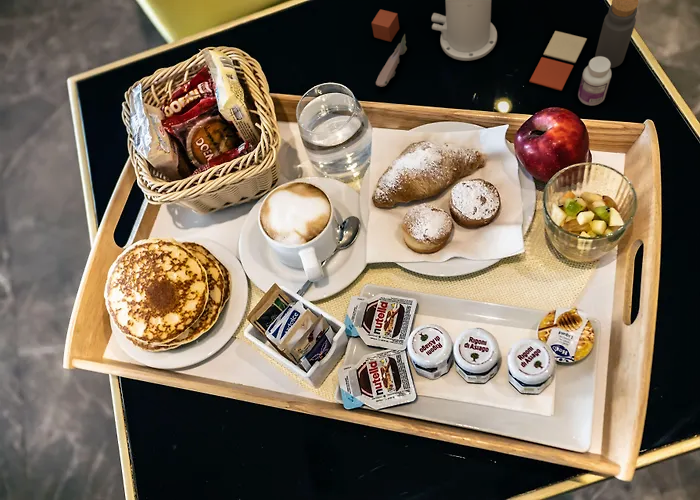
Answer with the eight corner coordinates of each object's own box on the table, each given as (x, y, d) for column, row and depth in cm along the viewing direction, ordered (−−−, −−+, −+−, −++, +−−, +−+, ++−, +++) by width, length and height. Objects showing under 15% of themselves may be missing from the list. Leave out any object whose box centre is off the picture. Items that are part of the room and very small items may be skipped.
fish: (412, 50, 139) (410, 34, 135) (385, 96, 135) (383, 81, 130) (401, 47, 140) (399, 31, 136) (375, 93, 136) (372, 78, 131)
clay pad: (529, 82, 130) (529, 80, 129) (541, 58, 132) (541, 56, 131) (561, 91, 127) (561, 89, 127) (573, 66, 129) (573, 65, 129)
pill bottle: (585, 82, 127) (593, 49, 118) (609, 91, 125) (619, 58, 116) (572, 100, 126) (580, 68, 117) (597, 110, 124) (606, 78, 115)
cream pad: (543, 54, 132) (543, 53, 132) (555, 32, 134) (555, 30, 134) (575, 63, 130) (575, 61, 129) (586, 39, 132) (586, 38, 131)
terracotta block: (374, 37, 143) (371, 22, 139) (382, 23, 144) (380, 9, 141) (390, 42, 142) (388, 27, 138) (399, 28, 143) (397, 13, 139)
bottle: (623, 68, 127) (641, 13, 113) (594, 68, 128) (608, 13, 115) (624, 47, 129) (641, -10, 116) (595, 46, 131) (609, -10, 117)
